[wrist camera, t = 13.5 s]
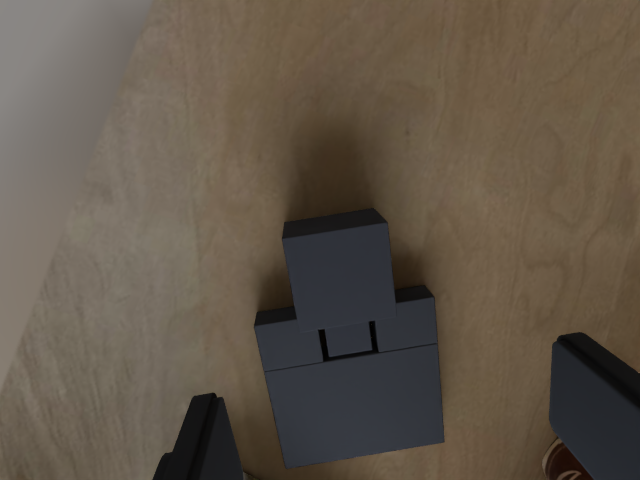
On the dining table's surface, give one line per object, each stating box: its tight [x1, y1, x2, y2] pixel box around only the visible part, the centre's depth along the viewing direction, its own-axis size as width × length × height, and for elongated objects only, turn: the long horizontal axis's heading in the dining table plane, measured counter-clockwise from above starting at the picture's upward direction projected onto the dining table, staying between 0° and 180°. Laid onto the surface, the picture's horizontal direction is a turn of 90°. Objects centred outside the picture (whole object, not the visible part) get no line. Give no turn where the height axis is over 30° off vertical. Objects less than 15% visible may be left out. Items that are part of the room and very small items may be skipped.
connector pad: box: [282, 208, 397, 357], centre depth 25 cm, size 6×9×4 cm, turn 9°
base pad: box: [254, 285, 444, 469], centre depth 28 cm, size 12×12×2 cm
